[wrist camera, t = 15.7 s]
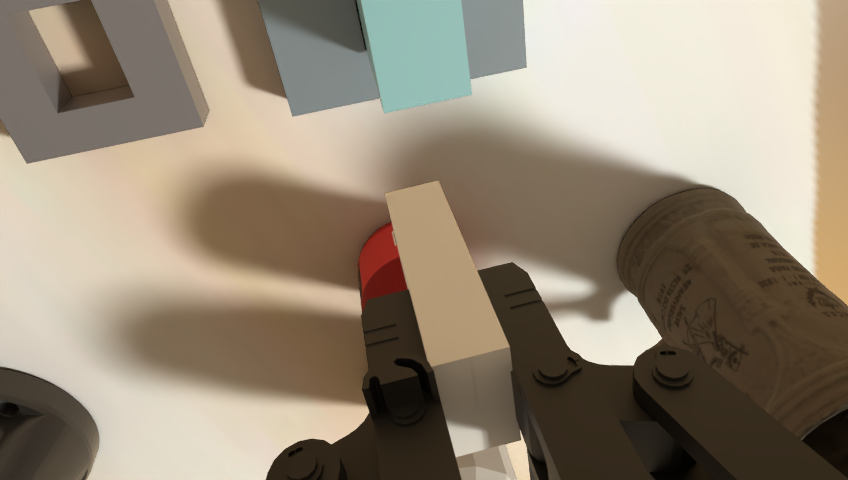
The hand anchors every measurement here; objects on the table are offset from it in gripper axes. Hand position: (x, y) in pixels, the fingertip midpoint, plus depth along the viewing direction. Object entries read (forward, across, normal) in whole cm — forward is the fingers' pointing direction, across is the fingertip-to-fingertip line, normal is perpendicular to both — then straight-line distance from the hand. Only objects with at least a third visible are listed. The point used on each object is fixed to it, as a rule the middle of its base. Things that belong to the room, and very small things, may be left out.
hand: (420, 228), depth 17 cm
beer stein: (+22, +21, -24) cm, 39 cm away
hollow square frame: (+22, -15, +2) cm, 27 cm away
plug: (+22, +2, +2) cm, 22 cm away
